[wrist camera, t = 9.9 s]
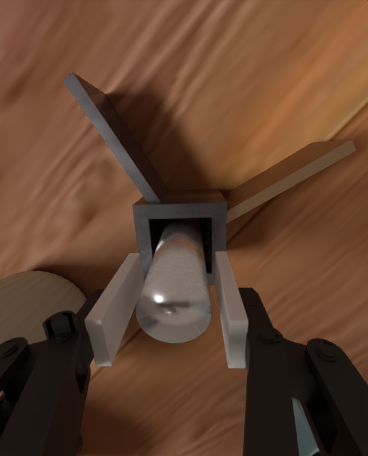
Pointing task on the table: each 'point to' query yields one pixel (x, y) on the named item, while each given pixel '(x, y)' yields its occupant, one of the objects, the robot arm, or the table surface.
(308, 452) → the flower pot
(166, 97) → the table surface
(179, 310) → the hinge pin
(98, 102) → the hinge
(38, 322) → the canister
